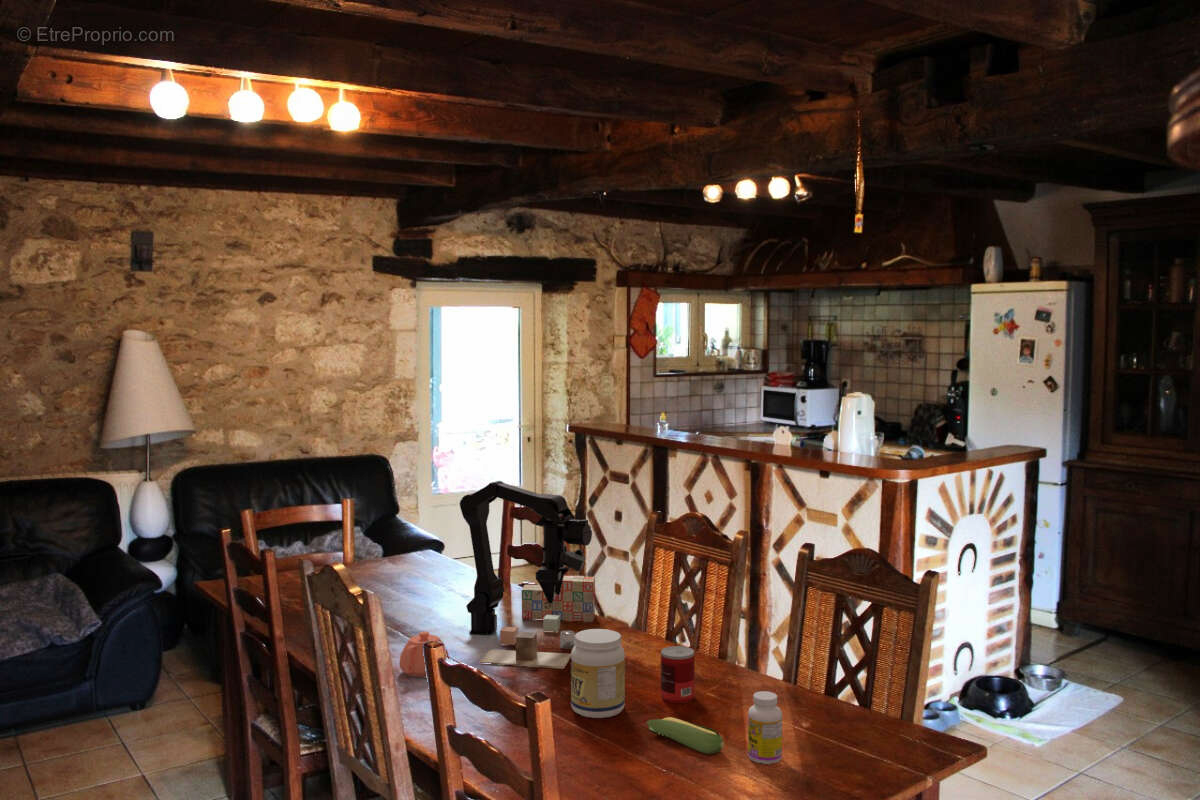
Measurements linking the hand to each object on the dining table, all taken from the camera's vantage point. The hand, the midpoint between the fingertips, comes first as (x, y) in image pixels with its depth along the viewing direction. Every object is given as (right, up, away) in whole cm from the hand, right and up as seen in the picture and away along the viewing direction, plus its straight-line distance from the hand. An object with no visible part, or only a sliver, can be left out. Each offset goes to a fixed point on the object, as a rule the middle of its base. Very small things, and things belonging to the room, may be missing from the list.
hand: (554, 598), depth 268 cm
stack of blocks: (0, -11, +23) cm, 26 cm away
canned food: (+30, -15, -41) cm, 53 cm away
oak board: (-7, -13, -14) cm, 20 cm away
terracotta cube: (-12, -12, 0) cm, 17 cm away
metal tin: (+4, -12, -4) cm, 14 cm away
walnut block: (-7, -12, -14) cm, 20 cm away
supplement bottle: (+45, -17, -74) cm, 88 cm away
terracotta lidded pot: (-32, -14, -24) cm, 42 cm away
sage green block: (-1, -11, +11) cm, 16 cm away
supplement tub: (+12, -15, -48) cm, 52 cm away
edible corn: (+30, -17, -66) cm, 74 cm away
